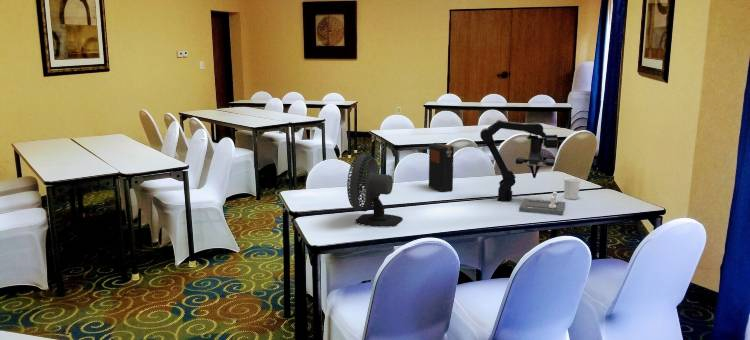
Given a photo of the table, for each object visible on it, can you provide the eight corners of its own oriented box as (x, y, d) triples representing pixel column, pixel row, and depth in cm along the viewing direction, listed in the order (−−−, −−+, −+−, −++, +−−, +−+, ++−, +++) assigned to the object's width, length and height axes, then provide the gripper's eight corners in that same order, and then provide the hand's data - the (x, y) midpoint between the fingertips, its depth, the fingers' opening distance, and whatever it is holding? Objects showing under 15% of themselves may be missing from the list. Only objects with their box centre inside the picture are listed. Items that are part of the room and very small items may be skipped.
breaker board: (519, 211, 289) (519, 207, 288) (523, 202, 305) (523, 198, 305) (562, 215, 282) (562, 210, 281) (564, 205, 298) (565, 201, 298)
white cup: (579, 200, 310) (581, 181, 308) (563, 199, 311) (565, 180, 309) (577, 196, 317) (579, 178, 315) (562, 195, 319) (563, 177, 317)
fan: (379, 210, 292) (379, 149, 286) (411, 223, 270) (412, 157, 264) (332, 218, 278) (331, 154, 272) (362, 232, 256) (361, 163, 250)
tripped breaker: (550, 202, 295) (551, 193, 294) (551, 201, 298) (551, 191, 297) (557, 203, 294) (557, 193, 293) (557, 201, 297) (558, 191, 296)
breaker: (548, 207, 286) (549, 197, 285) (549, 206, 289) (550, 195, 288) (555, 208, 285) (556, 198, 284) (555, 206, 288) (556, 196, 287)
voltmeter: (454, 191, 329) (455, 146, 324) (441, 192, 326) (441, 147, 321) (439, 185, 343) (440, 142, 338) (426, 186, 340) (427, 143, 335)
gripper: (514, 149, 299) (513, 179, 302) (553, 151, 292) (551, 182, 295) (517, 145, 309) (516, 175, 312) (555, 148, 302) (553, 178, 305)
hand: (534, 178), depth 306 cm, fingers closed
